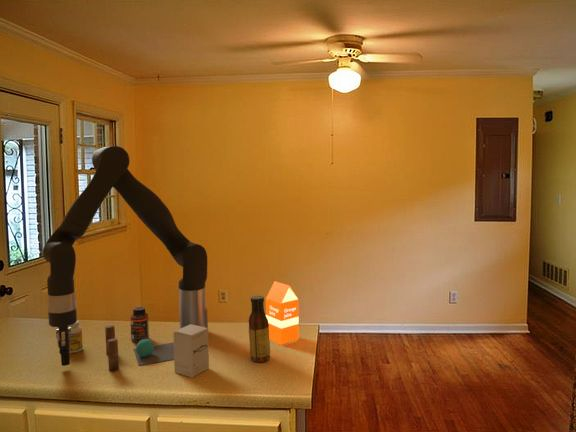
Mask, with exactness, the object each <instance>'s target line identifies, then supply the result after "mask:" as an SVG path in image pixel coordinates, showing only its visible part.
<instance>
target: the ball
mask: <svg viewBox="0 0 576 432" xmlns="http://www.w3.org/2000/svg"><path fill="white" fill-rule="evenodd" d="M154 345H155V344H154V342H153V341H152V340H151V339H143V340H141V341H139V342H137V344H136V346H135V349H136V352H137V354H138V355H139V356H141V357H148V356H150V355H151V354H152V353H153V351H154Z"/></svg>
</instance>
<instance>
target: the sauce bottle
mask: <svg viewBox="0 0 576 432" xmlns="http://www.w3.org/2000/svg"><path fill="white" fill-rule="evenodd" d="M250 302H251V313H250V315H249V318H248V336H249V354H250V359H251V361H252V362H256V363H264V362H267V361H269V359H270V358H271V355H270V354H271V343H270V340H269V323H268V320H267V317H266V311H265V306H264V302H265V297H264V296H262V295H253V296H251V297H250Z"/></svg>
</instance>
